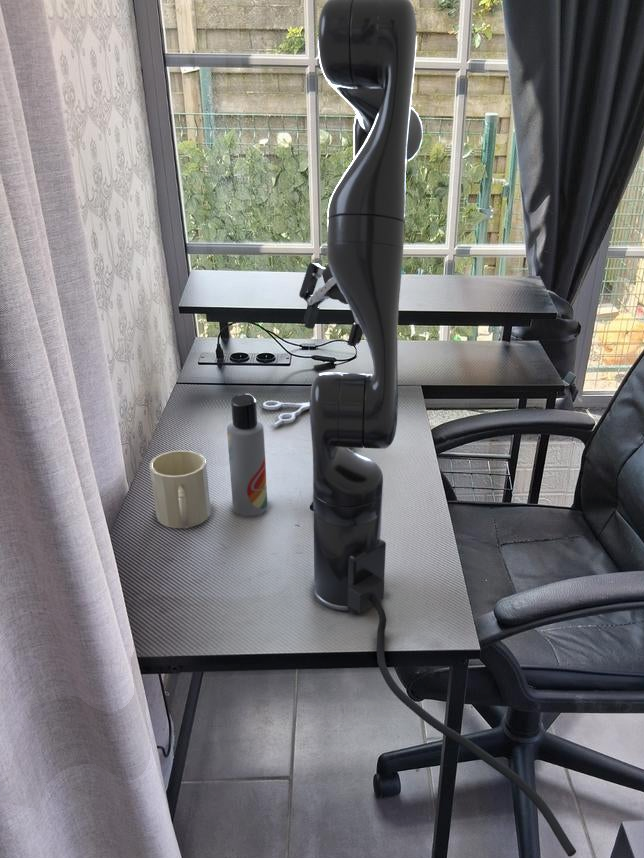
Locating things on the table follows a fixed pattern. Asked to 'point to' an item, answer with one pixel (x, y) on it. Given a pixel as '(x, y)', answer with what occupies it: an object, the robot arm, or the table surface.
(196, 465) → the mug
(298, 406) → the scissors
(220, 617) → the table surface
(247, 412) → the lotion bottle
